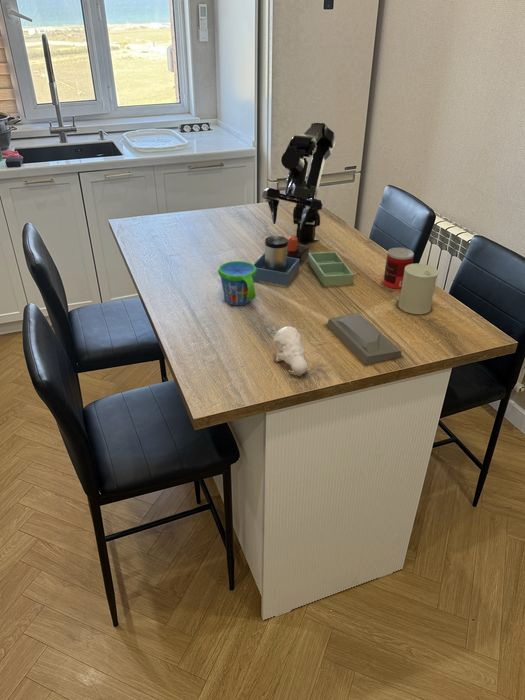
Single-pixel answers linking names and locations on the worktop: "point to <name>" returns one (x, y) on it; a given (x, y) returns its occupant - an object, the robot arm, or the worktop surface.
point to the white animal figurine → (291, 349)
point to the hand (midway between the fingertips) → (287, 226)
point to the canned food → (396, 267)
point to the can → (417, 288)
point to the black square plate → (299, 253)
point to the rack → (330, 268)
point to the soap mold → (363, 339)
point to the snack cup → (238, 282)
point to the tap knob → (292, 243)
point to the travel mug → (276, 253)
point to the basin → (276, 276)
